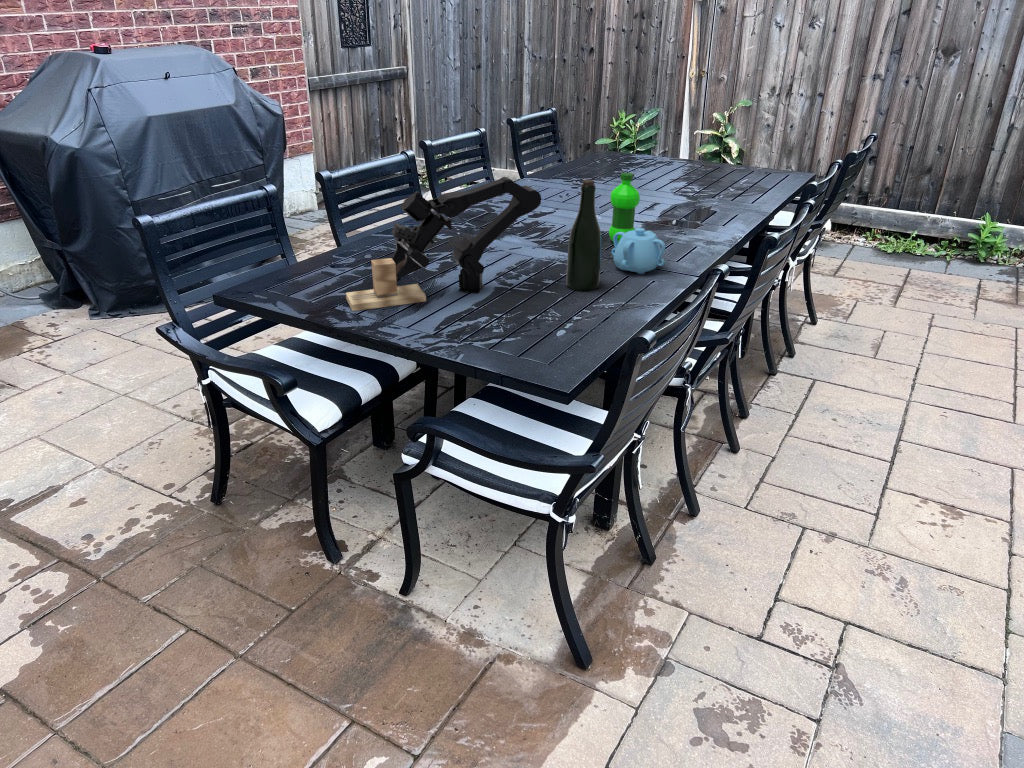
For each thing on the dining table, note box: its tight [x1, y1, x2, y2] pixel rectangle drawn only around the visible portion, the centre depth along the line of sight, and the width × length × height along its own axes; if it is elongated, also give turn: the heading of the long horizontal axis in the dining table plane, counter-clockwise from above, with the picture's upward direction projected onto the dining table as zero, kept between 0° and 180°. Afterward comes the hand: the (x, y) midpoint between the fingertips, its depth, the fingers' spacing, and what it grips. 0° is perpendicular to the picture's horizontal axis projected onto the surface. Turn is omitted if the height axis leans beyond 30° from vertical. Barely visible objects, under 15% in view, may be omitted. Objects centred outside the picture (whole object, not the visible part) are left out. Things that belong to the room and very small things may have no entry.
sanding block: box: [370, 257, 398, 298], centre depth 219 cm, size 6×5×10 cm
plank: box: [345, 283, 427, 312], centre depth 222 cm, size 22×10×2 cm, turn 111°
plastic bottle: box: [608, 172, 641, 243], centre depth 267 cm, size 10×10×25 cm
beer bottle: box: [565, 179, 602, 292], centre depth 227 cm, size 10×10×33 cm
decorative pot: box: [610, 227, 666, 275], centre depth 246 cm, size 16×16×14 cm
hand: (393, 271), depth 219 cm, fingers open, 9 cm apart
